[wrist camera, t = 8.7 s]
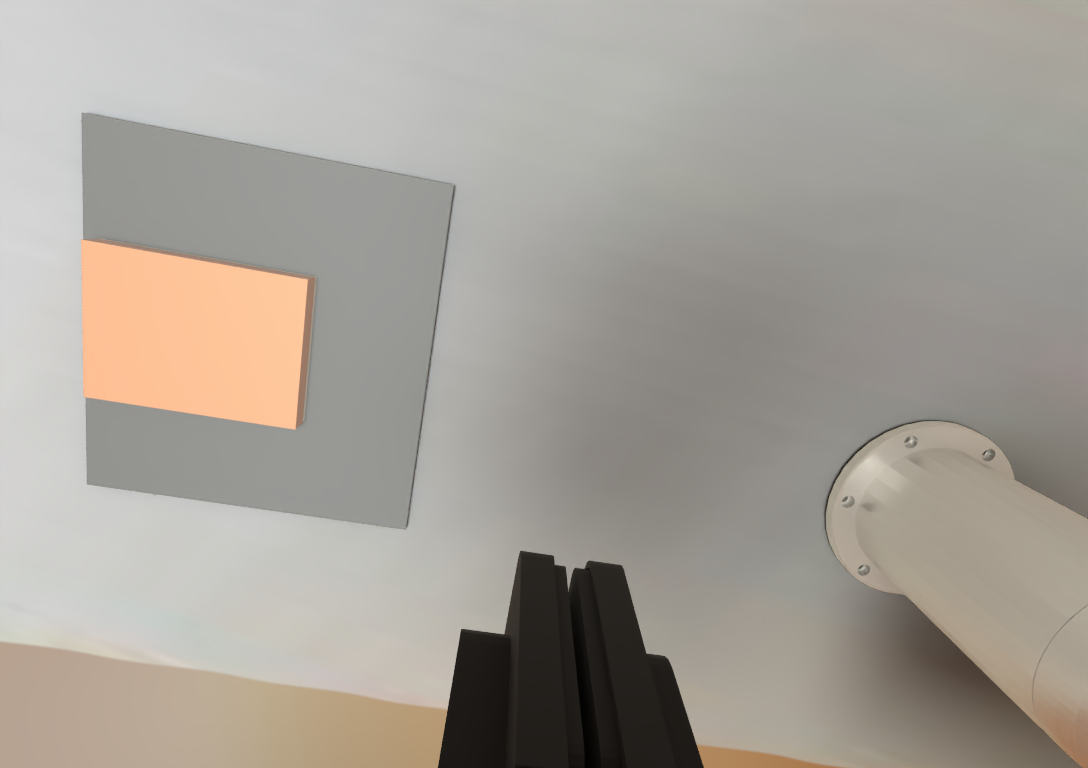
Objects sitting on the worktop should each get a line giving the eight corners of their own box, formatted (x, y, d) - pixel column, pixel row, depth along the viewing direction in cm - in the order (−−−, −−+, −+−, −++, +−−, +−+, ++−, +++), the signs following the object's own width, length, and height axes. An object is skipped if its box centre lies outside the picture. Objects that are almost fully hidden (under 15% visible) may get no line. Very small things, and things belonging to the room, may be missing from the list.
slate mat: (454, 185, 35) (453, 185, 34) (407, 525, 40) (405, 529, 40) (89, 114, 33) (81, 112, 32) (93, 480, 39) (87, 484, 38)
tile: (307, 279, 34) (81, 239, 33) (295, 429, 36) (83, 396, 35) (316, 276, 35) (100, 238, 34) (304, 420, 38) (101, 389, 36)
